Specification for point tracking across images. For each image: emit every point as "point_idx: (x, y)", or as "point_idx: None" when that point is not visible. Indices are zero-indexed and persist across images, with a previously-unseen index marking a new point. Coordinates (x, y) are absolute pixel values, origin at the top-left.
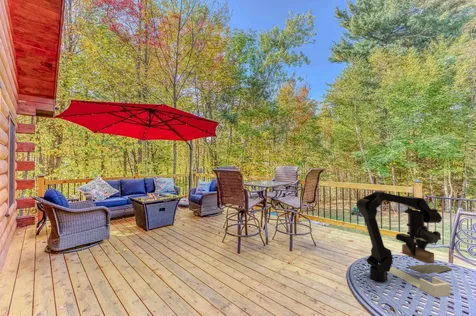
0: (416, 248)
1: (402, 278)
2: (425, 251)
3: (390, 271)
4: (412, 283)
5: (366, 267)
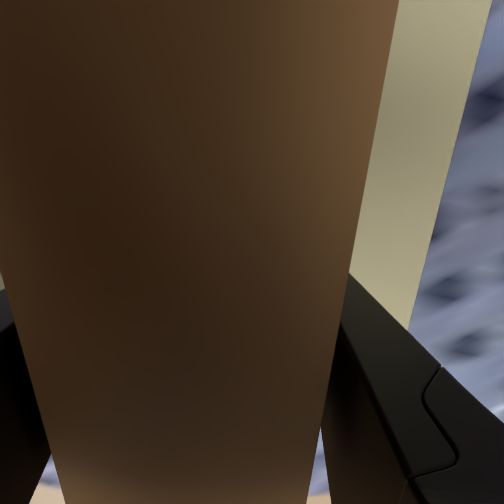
0: (202, 411)
1: (438, 157)
2: (145, 147)
3: (395, 294)
4: (460, 33)
5: (497, 401)
